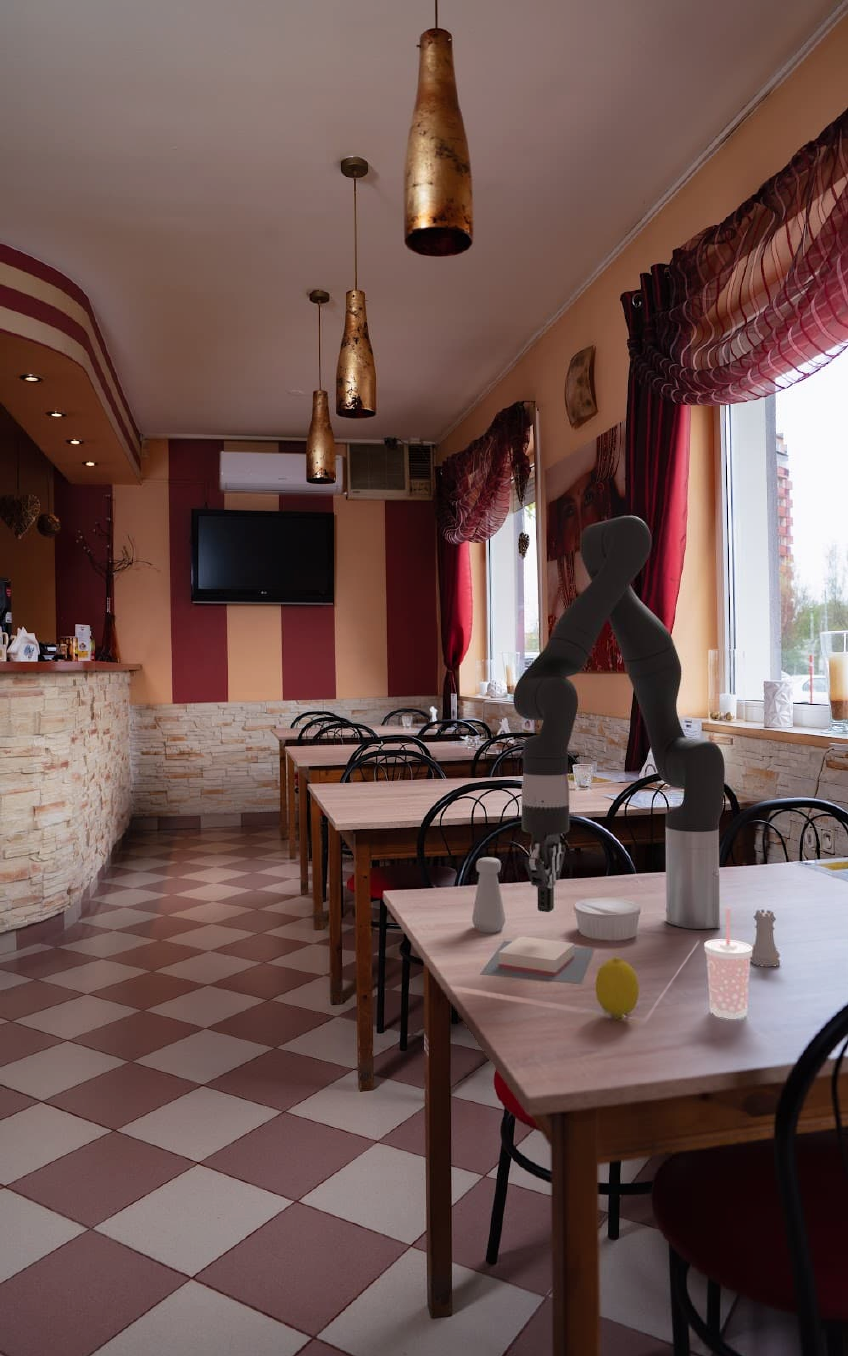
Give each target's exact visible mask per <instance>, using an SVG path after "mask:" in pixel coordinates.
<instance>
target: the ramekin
mask: <svg viewBox="0 0 848 1356" xmlns="http://www.w3.org/2000/svg"><path fill="white" fill-rule="evenodd" d="M573 910H574V913H575V917H576V921H577V927H578V931H579V933H580V934H581V935H583V936H585V937H586V938H590V939H593V940H600V941H601V940H602V941H624V940H629V939H632V938H633V937H635V936H636V934H637V932H638V931H637V930H638V926H639V919H640V915H641V906H640V905H639V904H638V903H636V902H633V901H630V900H626V899H621V898H615V897H595V898H594V897H593V898H586V899H582V900H578V901H577V902H575V904H574V906H573Z"/></svg>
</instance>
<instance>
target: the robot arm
mask: <svg viewBox="0 0 848 1356" xmlns="http://www.w3.org/2000/svg"><path fill="white" fill-rule="evenodd" d="M579 538H580V539H579V550H580V558H581V560H582V563H583V565H584V568H585V570H586V572H587V574H588V576H589V579H590V580H591V582H590V583H588V585H587V586H586V587H585V589H583V591H581V593H580V594H579V595H577V596H576V598H575V599H574V600H573V601H572V602H571V604H569V605H568V607H567V608H566V609H565V610H564V612H563V613H562V614H561V616H560V618H559V619H558V620H557V622H556V624H555V626H554V628H553V630H552V632H551V635H550V637H549V638H548V641H547V643H546V645H545V648H544V649H543V650H542V651H541V653H540V654H539V655H538V656H537V657H536V658H535V659H534V660H533V661H532V663H531V664H530V665H529V666H528V667H527V669H526V670H525V671H524V672H523V674H522V675H521V676H520V678H519V679H518V681H517V682H516V686H515V687H514V690H513V696H512V698H513V700H512V701H513V702H512V703H513V707H514V709H515V711H516V713H517V714H518V715H519V716H520V717H521V718H523V719H526V720H529V721H531V720H532V721H542V724H541V728H540V731H539V733H538V734H536V735H533V736H529V737H527V738H526V739H525V741H524V742H523V747H522V748H523V749H522V756H523V758H522V759H523V760H522V761H523V763H522V767H523V773H522V774H523V775H522V783H521V830H522V831H523V832H525V833H528V834H530V835H531V842H530V844H529V855H530V857H527V856H525V858H524V860H523V861H524V866H525V869H526V872H527V875H528V877H529V878H528V879H529V880H530V884H531V886H535V888H537V910H538V912H545V913H550V912H551V911H553V910H554V908H555V904H554V903H555V902H554V901H555V899H554V898H555V896H554V895H555V894H554V893H555V890H554V889H555V887H556V884H557V881H559V880H560V877H561V872H562V869H563V868H562V867H563V863H564V859H565V854H566V847H565V846H564V845H562V843H561V837H560V835H563V834H567V833H568V832H569V831H570V784H569V777H568V771H569V770H568V767H569V766H568V764H569V763H568V761H569V760H568V759H569V758H568V757H569V756H568V748H569V745H570V740H571V736H572V732H573V729H574V726H575V725H574V724H575V721H576V717H577V713H578V708H579V697H578V692H577V689H576V687H575V684H573V683H572V681H571V680H570V679H569V677H571V676H575V675H577V674H579V673H581V672H582V671H583V669H584V667H585V666H586V663H587V662H588V659H589V658H590V655H591V653H592V651H593V649H594V646H595V644H596V641H598V638H599V635H600V633H601V632H602V630H603V628H604V626H605V624H606V622H607V621H609V624H610V626H611V629H612V632H613V634H614V637H615V640H616V643H617V646H618V649H619V651H620V654H621V658H622V661H623V664H624V667H625V670H626V673H627V675H628V678H629V681H630V683H631V685H632V688H633V691H634V693H635V696H636V700H637V703H638V706H639V710H640V713H641V716H642V717H643V721H644V725H645V728H646V732H647V737H648V740H649V745H650V749H651V753H652V758H653V761H654V766H655V769H656V772H657V774H658V776H659V778H660V779H661V780H662V782H663V783H665V784H666V785H667V786H670V787H672V788H676V789H683V799H682V803H681V804H680V805H679V806H677V807H673V808H670V809H668V810H667V812H666V814H665V912H666V913H665V915H666V917H665V918H666V919H665V920H666V922H667V923H668V924H670V925H671V926H675V927H680V928H684V929H694V930H698V929H699V930H704V929H706V930H707V929H720V927H721V926H720V925H721V924H720V923H721V921H720V920H721V919H720V911H721V910H720V909H721V908H720V904H721V903H720V900H721V899H720V846H719V845H720V843H719V842H720V838H719V837H720V834H719V833H720V832H719V831H720V829H719V828H720V826H719V825H720V818H721V816H722V814H723V809H724V794H725V793H724V792H725V778H726V777H725V775H726V773H725V772H726V769H725V766H726V765H725V760H724V759H725V758H724V755H723V754H724V753H723V752H722V750H721V748H720V747H719V745H718V744H716V742H714V741H712V740H708V739H699V738H688V737H687V736H686V735H685V732H684V731H683V728H682V725H681V722H680V718H679V715H678V709H677V702H678V701H677V700H678V696H679V691H680V686H681V682H682V681H681V680H682V664H681V661H680V657H679V655H678V652H677V649H676V646H675V642H674V640H673V637H672V635H671V633H670V632H669V630H668V628H667V626H665V625H664V623H663V622H662V621H661V620H660V619H659V618H658V617H657V615H655V614H654V613H653V612H652V611H651V610H650V609H649V608H648V607H647V606H646V605H645V604H644V603H643V602H642V601H641V600H640V598H639V597H638V595H637V594H636V593H635V591H634V590H633V588H632V586H631V584H632V583H633V581H634V580H635V578H636V577H637V576H638V574H639V573H640V571H641V570H642V569H643V567H644V565H645V564H646V562H647V560H648V559H649V556H650V553H651V549H652V545H653V543H652V541H653V540H652V534H651V532H650V529H649V527H648V525H647V524H646V522H645V521H643V519H641V518H639V517H638V516H635V515H623V516H619V517H614V518H611V519H608V520H603V521H599V522H597V523H593V524H590V525H588V526H587V527H585V528H584V529H583V531H582V532H581V535H580V537H579Z"/></svg>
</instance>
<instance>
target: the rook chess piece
mask: <svg viewBox="0 0 848 1356" xmlns="http://www.w3.org/2000/svg"><path fill="white" fill-rule="evenodd" d="M753 918H754V920H755V921H756V925H755V926H754V927H755V929H756V935H755V942H754V944H753V946H752V948H753V951H752V956H751V957H750V962H751V963H752V962H753V963H755V964H758V965H763V966H774V965H777V964H778V965H780V963H781V960H780V959H779V958H780V957H781V954H780V952H779V951H778V948H777V947H776V944H775V938H774V930H775V927H774V926H773V925H774V922H775V921H776V920H777V918H776V917H775V915H774V911H771V910H769V909H767V910H766V912H765V909H757V910H756V911H755V914H754V916H753ZM753 963H752V964H753ZM755 964H754V965H755ZM758 965H757V966H758ZM763 966H762V967H763Z"/></svg>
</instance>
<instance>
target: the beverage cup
mask: <svg viewBox="0 0 848 1356" xmlns="http://www.w3.org/2000/svg"><path fill="white" fill-rule="evenodd" d="M730 909H731V908H730V907H726V908H725V911H726V912H725V928H726V929H725V931H726V932H725V938H724V939H723V938H719V939H715V938H714V939H709V940H707V941H705V942H703V946H704V952H705V954H706V965H707V983H708V994H709V995H708V996H709V997H708V998H709V1011H710V1014H712V1013H713V1014H714V1015H715V1016H714V1015H713V1014H712V1015H713V1016H714V1017H716V1016H717V1017H716V1018H719V1017H724V1018H729V1019H736V1018H741V1017H745V1016H746V1015H747V1016H748V1001H749V987H750V986H749V985H750V984H749V983H750V970H751V969H750V968H751V960H750V957H751V956H752V951H753V948H754V947H753V946H752V945H750V944H748V943H747V942H745V941H744V942H743V941H740V940H737V939H735V940H734V939H731V913H730V912H731V910H730ZM747 1016H746V1017H747ZM746 1017H745V1018H746Z"/></svg>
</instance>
